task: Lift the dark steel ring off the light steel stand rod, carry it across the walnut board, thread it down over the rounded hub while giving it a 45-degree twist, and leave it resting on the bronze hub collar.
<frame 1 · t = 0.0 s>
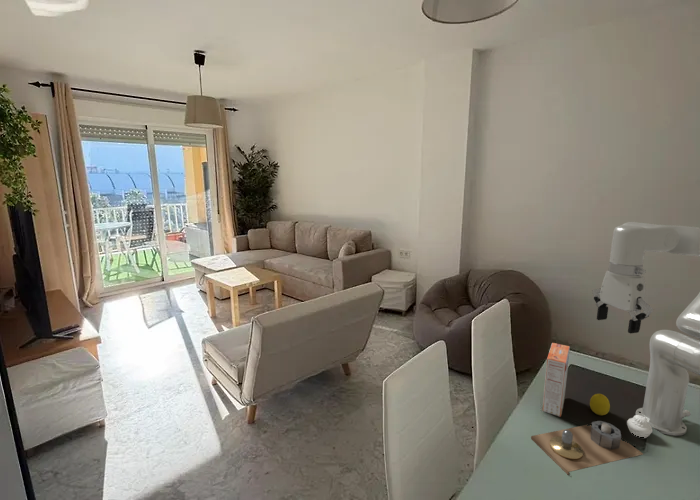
hand: (616, 325, 103), 37 cm above the table, tool pointing down, fingers open, 9 cm apart
ring: (604, 440, 107), point 1 cm above the table, touching board
board: (585, 447, 105), on the table
lemon: (598, 415, 119), on the table
cracker box: (553, 406, 125), on the table
hub: (565, 451, 104), resting on board
muffin: (637, 436, 110), on the table
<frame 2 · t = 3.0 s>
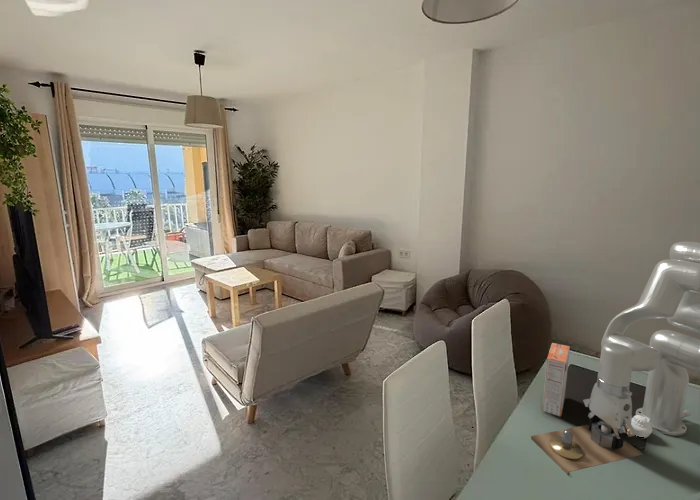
hand: (604, 438, 106), 2 cm above the table, tool pointing down, fingers closed on ring, 7 cm apart
ring: (604, 440, 107), point 1 cm above the table, touching board, gripper
everything else where it was.
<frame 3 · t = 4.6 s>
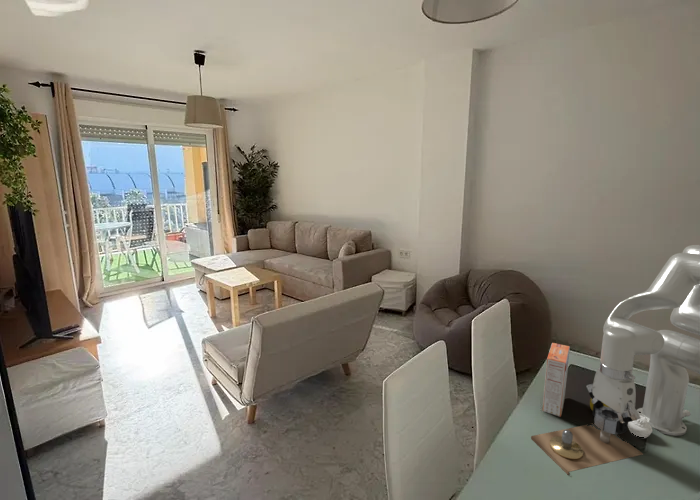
hand: (608, 423, 106), 7 cm above the table, tool pointing down, fingers closed on ring, 7 cm apart
ring: (608, 425, 106), point 6 cm above the table, touching gripper
everything else where it was.
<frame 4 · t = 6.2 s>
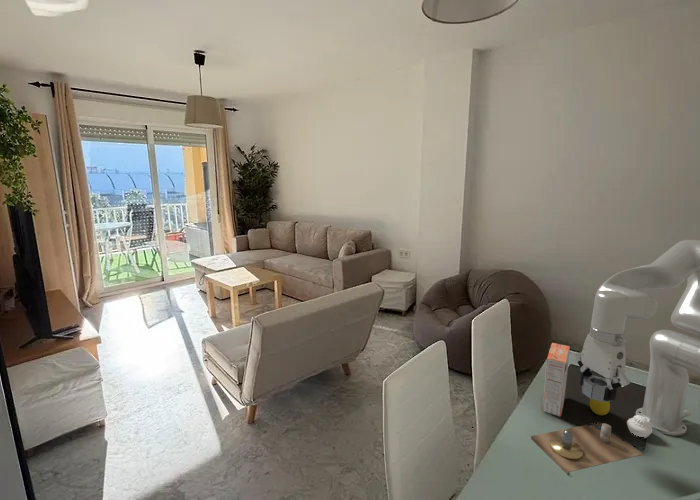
hand: (596, 391, 102), 18 cm above the table, tool pointing down, fingers closed on ring, 7 cm apart
ring: (596, 394, 102), point 18 cm above the table, touching gripper
everything else where it was.
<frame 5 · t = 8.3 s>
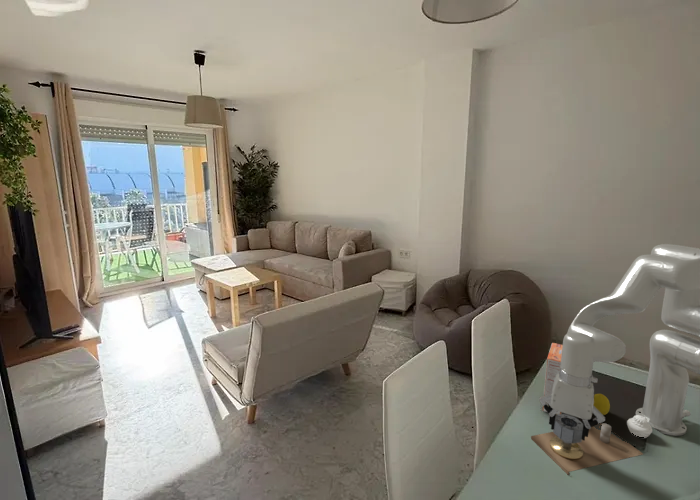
hand: (567, 431, 102), 7 cm above the table, tool pointing down, fingers closed on ring, 7 cm apart
ring: (567, 434, 102), point 6 cm above the table, touching gripper
everything else where it was.
when the fingers open (3 cm above the table, at t = 9.7 s): ring stays where it is, resting on hub.
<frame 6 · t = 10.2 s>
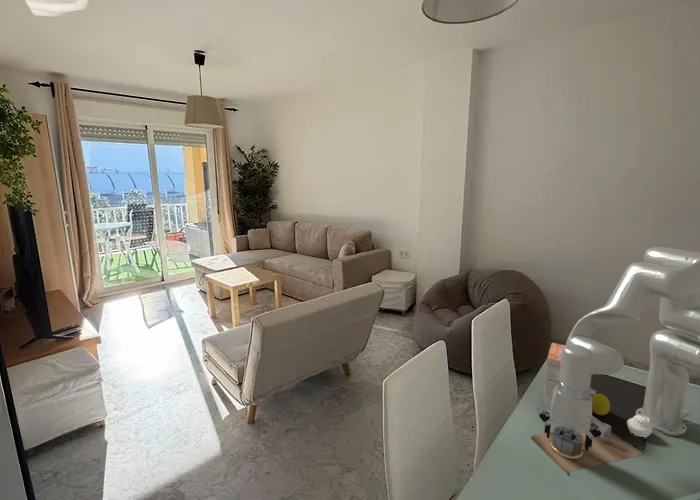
hand: (566, 441, 103), 4 cm above the table, tool pointing down, fingers open, 9 cm apart
ring: (566, 446, 103), point 2 cm above the table, touching hub
everything else where it was.
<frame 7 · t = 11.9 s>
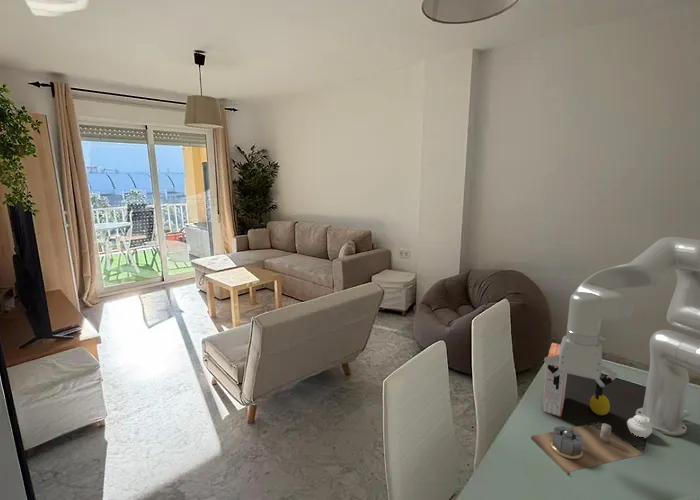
hand: (576, 391, 101), 19 cm above the table, tool pointing down, fingers open, 9 cm apart
nothing on the table moved.
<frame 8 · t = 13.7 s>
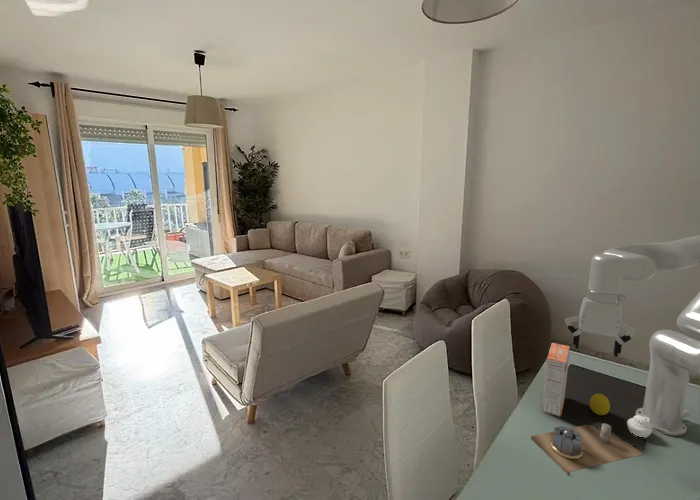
hand: (595, 350, 106), 28 cm above the table, tool pointing down, fingers open, 9 cm apart
nothing on the table moved.
at the end: ring 0.0 cm off-centre on the hub, point 1.8 cm above the hub's base; ring tilted 0°; the gripper is holding nothing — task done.
